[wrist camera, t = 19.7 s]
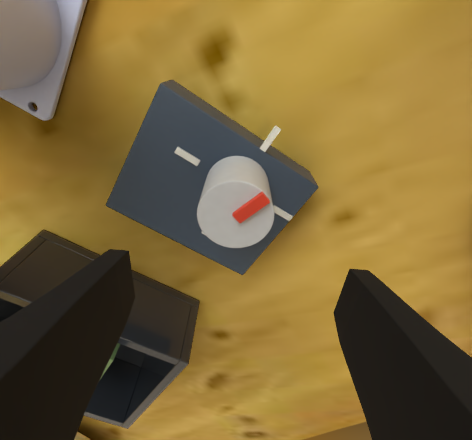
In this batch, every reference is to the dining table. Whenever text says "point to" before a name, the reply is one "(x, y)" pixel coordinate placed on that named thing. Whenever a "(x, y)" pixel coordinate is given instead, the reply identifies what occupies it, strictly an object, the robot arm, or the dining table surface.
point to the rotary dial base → (199, 173)
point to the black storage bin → (133, 336)
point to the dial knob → (236, 203)
